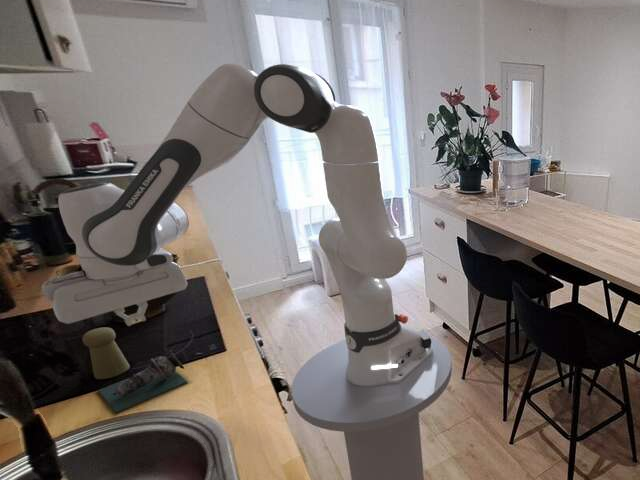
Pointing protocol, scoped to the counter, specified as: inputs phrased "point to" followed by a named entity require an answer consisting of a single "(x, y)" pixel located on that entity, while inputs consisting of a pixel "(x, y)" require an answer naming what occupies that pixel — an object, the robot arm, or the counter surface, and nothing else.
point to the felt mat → (140, 392)
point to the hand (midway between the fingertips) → (136, 322)
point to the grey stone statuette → (150, 374)
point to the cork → (105, 353)
